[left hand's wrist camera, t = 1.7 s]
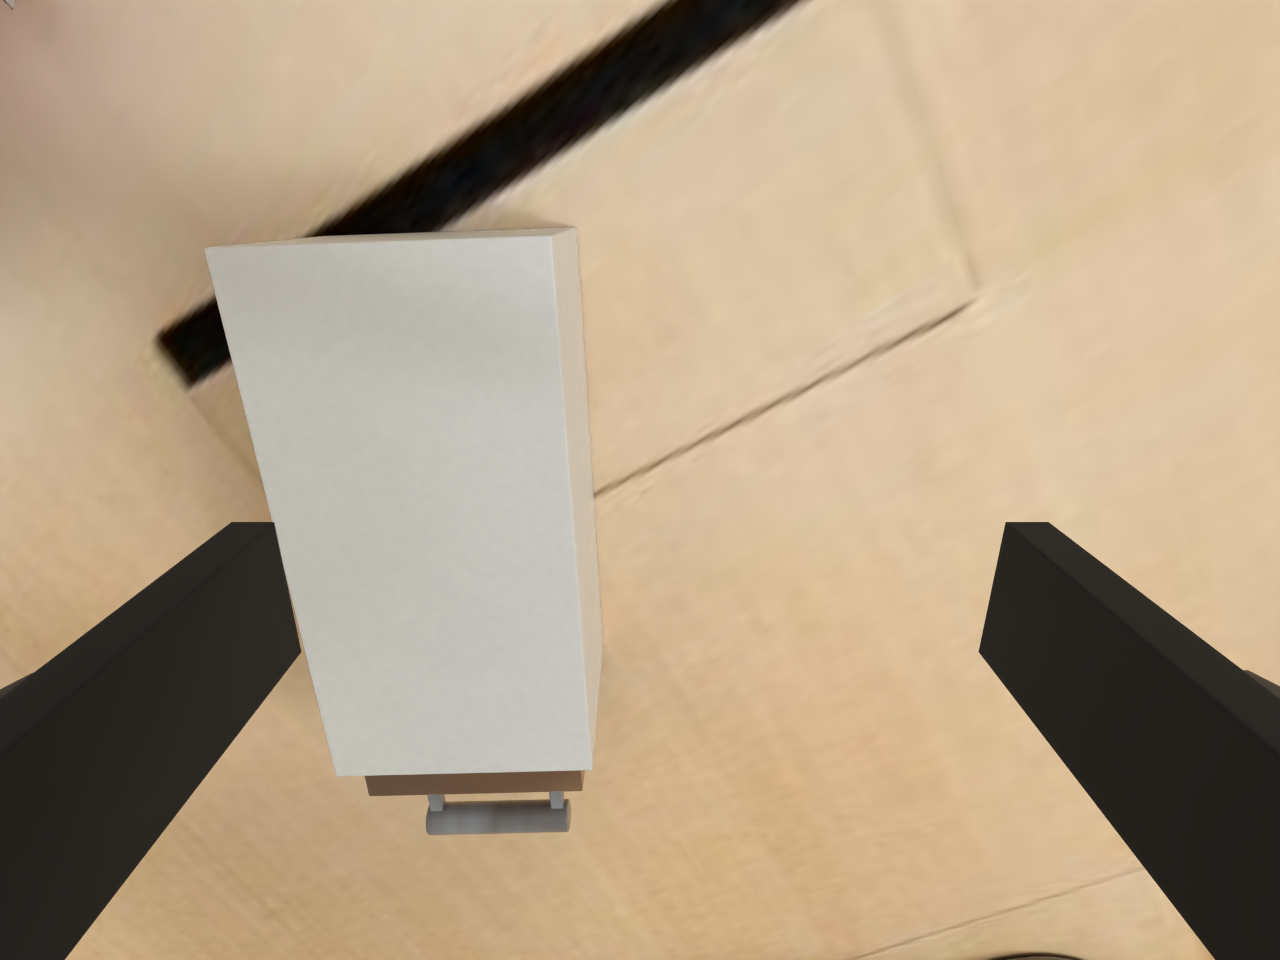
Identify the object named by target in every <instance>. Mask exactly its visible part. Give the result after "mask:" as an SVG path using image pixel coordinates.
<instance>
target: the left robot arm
mask: <svg viewBox="0 0 1280 960" xmlns="http://www.w3.org/2000/svg"><path fill="white" fill-rule="evenodd" d="M300 653H301V648H300V643H299V638H298V634H297V629H296V624H295V619H294V615H293V610H292V605H291V600H290V595H289V591H288V586H287V581H286V576H285V571H284V567H283V562H282V557H281V552H280V547H279V543H278V538H277V533H276V528H275V523H274V522H231V523H230V524H229V525H227V526H226V527H225V528H223V529H222V530H221V531H219V532H218V533H217V534H215V535H214V536H213V537H211V538H210V539H209V540H208V541H206V542H205V543H204V544H202V545H201V546H200V547H198V548H197V549H196V550H194V551H193V552H192V553H190V554H189V555H188V556H187V557H185V558H184V559H183V560H181V561H180V562H179V563H177V564H176V565H175V566H173V567H172V568H171V569H169V570H168V571H167V572H166V573H164V574H163V575H162V576H160V577H159V578H158V579H156V580H155V581H154V582H152V583H151V584H150V585H148V586H147V587H146V588H145V589H143V590H142V591H141V592H139V593H138V594H137V595H135V596H134V597H133V598H131V599H130V600H129V601H127V602H126V603H125V604H124V605H122V606H121V607H120V608H118V609H117V610H116V611H114V612H113V613H112V614H110V615H109V616H108V617H106V618H105V619H104V620H103V621H101V622H100V623H99V624H97V625H96V626H95V627H93V628H92V629H91V630H89V631H88V632H87V633H86V634H84V635H83V636H82V637H80V638H79V639H78V640H76V641H75V642H74V643H72V644H71V645H70V646H68V647H67V648H66V649H65V650H63V651H62V652H61V653H59V654H58V655H57V656H55V657H54V658H53V659H51V660H50V661H49V662H47V663H46V664H45V665H44V666H42V667H41V668H40V669H38V670H37V671H36V672H34V673H32V674H30V675H28V676H26V677H24V678H22V679H20V680H18V681H16V682H14V683H12V684H10V685H8V686H6V687H4V688H2V689H0V960H65V959H66V957H67V956H68V955H69V953H70V952H71V951H72V950H73V948H74V947H75V946H76V944H77V943H78V942H79V940H80V939H81V938H82V937H83V935H84V934H85V933H86V931H87V930H88V929H89V927H90V926H91V925H92V923H93V922H94V921H95V920H96V918H97V917H98V916H99V914H100V913H101V912H102V910H103V909H104V908H105V907H106V905H107V904H108V903H109V901H110V900H111V899H112V897H113V896H114V895H115V894H116V892H117V891H118V890H119V888H120V887H121V886H122V884H123V883H124V882H125V881H126V879H127V878H128V877H129V875H130V874H131V873H132V871H133V870H134V869H135V868H136V866H137V865H138V864H139V862H140V861H141V860H142V858H143V857H144V856H145V855H146V853H147V852H148V851H149V849H150V848H151V847H152V845H153V844H154V843H155V842H156V840H157V839H158V838H159V836H160V835H161V834H162V832H163V831H164V830H165V828H166V827H167V826H168V825H169V823H170V822H171V821H172V819H173V818H174V817H175V815H176V814H177V813H178V812H179V810H180V809H181V808H182V806H183V805H184V804H185V802H186V801H187V800H188V799H189V797H190V796H191V795H192V793H193V792H194V791H195V789H196V788H197V787H198V786H199V784H200V783H201V782H202V780H203V779H204V778H205V776H206V775H207V774H208V773H209V771H210V770H211V769H212V767H213V766H214V765H215V763H216V762H217V761H218V760H219V758H220V757H221V756H222V754H223V753H224V752H225V750H226V749H227V748H228V747H229V745H230V744H231V743H232V741H233V740H234V739H235V737H236V736H237V735H238V733H239V732H240V731H241V730H242V728H243V727H244V726H245V724H246V723H247V722H248V720H249V719H250V718H251V717H252V715H253V714H254V713H255V711H256V710H257V709H258V707H259V706H260V705H261V704H262V702H263V701H264V700H265V698H266V697H267V696H268V694H269V693H270V692H271V691H272V689H273V688H274V687H275V685H276V684H277V683H278V681H279V680H280V679H281V678H282V676H283V675H284V674H285V672H286V671H287V670H288V668H289V667H290V666H291V665H292V663H293V662H294V661H295V659H296V658H297V657H298V655H299V654H300ZM979 653H980V654H981V655H982V657H983V658H984V659H985V661H986V662H987V663H988V665H989V666H990V667H991V668H992V670H993V671H994V672H995V674H996V675H997V676H998V678H999V679H1000V680H1001V681H1002V683H1003V684H1004V685H1005V687H1006V688H1007V689H1008V691H1009V692H1010V693H1011V694H1012V696H1013V697H1014V698H1015V700H1016V701H1017V702H1018V704H1019V705H1020V706H1021V707H1022V709H1023V710H1024V711H1025V713H1026V714H1027V715H1028V717H1029V718H1030V719H1031V720H1032V722H1033V723H1034V724H1035V726H1036V727H1037V728H1038V730H1039V731H1040V732H1041V733H1042V735H1043V736H1044V737H1045V739H1046V740H1047V741H1048V743H1049V744H1050V745H1051V747H1052V748H1053V749H1054V750H1055V752H1056V753H1057V754H1058V756H1059V757H1060V758H1061V760H1062V761H1063V762H1064V763H1065V765H1066V766H1067V767H1068V769H1069V770H1070V771H1071V773H1072V774H1073V775H1074V776H1075V778H1076V779H1077V780H1078V782H1079V783H1080V784H1081V786H1082V787H1083V788H1084V789H1085V791H1086V792H1087V793H1088V795H1089V796H1090V797H1091V799H1092V800H1093V801H1094V802H1095V804H1096V805H1097V806H1098V808H1099V809H1100V810H1101V812H1102V813H1103V814H1104V815H1105V817H1106V818H1107V819H1108V821H1109V822H1110V823H1111V825H1112V826H1113V827H1114V828H1115V830H1116V831H1117V832H1118V834H1119V835H1120V836H1121V838H1122V839H1123V840H1124V842H1125V843H1126V844H1127V845H1128V847H1129V848H1130V849H1131V851H1132V852H1133V853H1134V855H1135V856H1136V857H1137V858H1138V860H1139V861H1140V862H1141V864H1142V865H1143V866H1144V868H1145V869H1146V870H1147V871H1148V873H1149V874H1150V875H1151V877H1152V878H1153V879H1154V881H1155V882H1156V883H1157V884H1158V886H1159V887H1160V888H1161V890H1162V891H1163V892H1164V894H1165V895H1166V896H1167V897H1168V899H1169V900H1170V901H1171V903H1172V904H1173V905H1174V907H1175V908H1176V909H1177V910H1178V912H1179V913H1180V914H1181V916H1182V917H1183V918H1184V920H1185V921H1186V922H1187V923H1188V925H1189V926H1190V927H1191V929H1192V930H1193V931H1194V933H1195V934H1196V935H1197V937H1198V938H1199V939H1200V940H1201V942H1202V943H1203V944H1204V946H1205V947H1206V948H1207V950H1208V951H1209V952H1210V953H1211V955H1212V956H1213V957H1214V959H1215V960H1280V686H1278V685H1276V684H1274V683H1272V682H1270V681H1268V680H1266V679H1264V678H1262V677H1260V676H1258V675H1256V674H1254V673H1252V672H1250V671H1248V670H1242V669H1240V668H1239V667H1238V666H1236V665H1235V664H1234V663H1233V662H1231V661H1230V660H1229V659H1227V658H1226V657H1225V656H1223V655H1222V654H1221V653H1219V652H1218V651H1217V650H1215V649H1214V648H1213V647H1212V646H1210V645H1209V644H1208V643H1206V642H1205V641H1204V640H1202V639H1201V638H1200V637H1198V636H1197V635H1196V634H1194V633H1193V632H1192V631H1191V630H1189V629H1188V628H1187V627H1185V626H1184V625H1183V624H1181V623H1180V622H1179V621H1177V620H1176V619H1175V618H1173V617H1172V616H1171V615H1170V614H1168V613H1167V612H1166V611H1164V610H1163V609H1162V608H1160V607H1159V606H1158V605H1156V604H1155V603H1154V602H1153V601H1151V600H1150V599H1149V598H1147V597H1146V596H1145V595H1143V594H1142V593H1141V592H1139V591H1138V590H1137V589H1135V588H1134V587H1133V586H1132V585H1130V584H1129V583H1128V582H1126V581H1125V580H1124V579H1122V578H1121V577H1120V576H1118V575H1117V574H1116V573H1114V572H1113V571H1112V570H1111V569H1109V568H1108V567H1107V566H1105V565H1104V564H1103V563H1101V562H1100V561H1099V560H1097V559H1096V558H1095V557H1093V556H1092V555H1091V554H1090V553H1088V552H1087V551H1086V550H1084V549H1083V548H1082V547H1080V546H1079V545H1078V544H1076V543H1075V542H1074V541H1072V540H1071V539H1070V538H1069V537H1067V536H1066V535H1065V534H1063V533H1062V532H1061V531H1059V530H1058V529H1057V528H1055V527H1054V526H1053V525H1051V524H1050V523H1049V522H1006V523H1005V528H1004V533H1003V538H1002V543H1001V547H1000V552H999V557H998V562H997V567H996V571H995V576H994V581H993V586H992V591H991V595H990V600H989V605H988V610H987V614H986V619H985V624H984V629H983V634H982V638H981V643H980V648H979Z"/></svg>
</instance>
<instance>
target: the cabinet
mask: <svg viewBox="0 0 1280 960" xmlns="http://www.w3.org/2000/svg"><path fill="white" fill-rule="evenodd" d="M204 251H205V255H206V259H207V263H208V267H209V271H210V275H211V279H212V283H213V287H214V291H215V295H216V299H217V303H218V307H219V311H220V315H221V319H222V323H223V327H224V331H225V335H226V339H227V343H228V347H229V351H230V355H231V359H232V363H233V367H234V371H235V375H236V379H237V383H238V387H239V391H240V395H241V399H242V403H243V407H244V411H245V415H246V419H247V423H248V427H249V431H250V435H251V439H252V443H253V447H254V451H255V455H256V459H257V463H258V467H259V471H260V475H261V479H262V483H263V487H264V491H265V495H266V499H267V503H268V507H269V510H270V514H271V518H272V522H274V523H275V528H276V533H277V538H278V543H279V547H280V552H281V557H282V562H283V566H284V570H285V574H286V578H287V582H288V586H289V590H290V594H291V598H292V602H293V606H294V610H295V614H296V618H297V622H298V626H299V630H300V634H301V638H302V642H303V646H304V650H305V654H306V658H307V662H308V666H309V670H310V674H311V678H312V682H313V686H314V690H315V694H316V698H317V702H318V706H319V710H320V714H321V718H322V722H323V726H324V730H325V734H326V738H327V742H328V746H329V750H330V754H331V758H332V762H333V766H334V770H335V774H336V776H375V775H416V774H457V773H498V772H539V771H580V770H592V766H593V755H594V743H595V732H596V720H597V709H598V698H599V686H600V675H601V664H602V653H603V637H602V621H601V606H600V590H599V574H598V558H597V542H596V526H595V511H594V495H593V479H592V463H591V447H590V431H589V415H588V400H587V384H586V368H585V352H584V336H583V320H582V305H581V289H580V273H579V257H578V241H577V228H576V227H563V228H536V229H508V230H480V231H452V232H424V233H396V234H368V235H340V236H320V237H310V238H299V239H289V240H278V241H268V242H257V243H247V244H236V245H226V246H215V247H206V248H204Z"/></svg>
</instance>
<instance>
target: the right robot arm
mask: <svg viewBox="0 0 1280 960" xmlns="http://www.w3.org/2000/svg"><path fill="white" fill-rule="evenodd" d="M1007 960H1072V959H1067V958H1059V957H1044V956H1037V957H1021V958H1013V959H1007Z"/></svg>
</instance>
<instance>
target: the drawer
mask: <svg viewBox="0 0 1280 960" xmlns="http://www.w3.org/2000/svg"><path fill="white" fill-rule="evenodd" d="M584 771H585V770H580V771H539V772H498V773H457V774H416V775H375V776H365V779H366V783H367V788H368V792H369V795H370V796H392V795H428V800H429V805H430V806H429V808H428V811H427V816H426V830H427V833H428V834H429V835H453V834H497V833H540V832H568V831H569V828H570V818H571V807H570V801H569V800H568V799H564V791H582V789H583V781H584ZM517 792H549V795H550V799H548V800H506V801H464V802H445V797H444V794H475V793H517Z"/></svg>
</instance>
